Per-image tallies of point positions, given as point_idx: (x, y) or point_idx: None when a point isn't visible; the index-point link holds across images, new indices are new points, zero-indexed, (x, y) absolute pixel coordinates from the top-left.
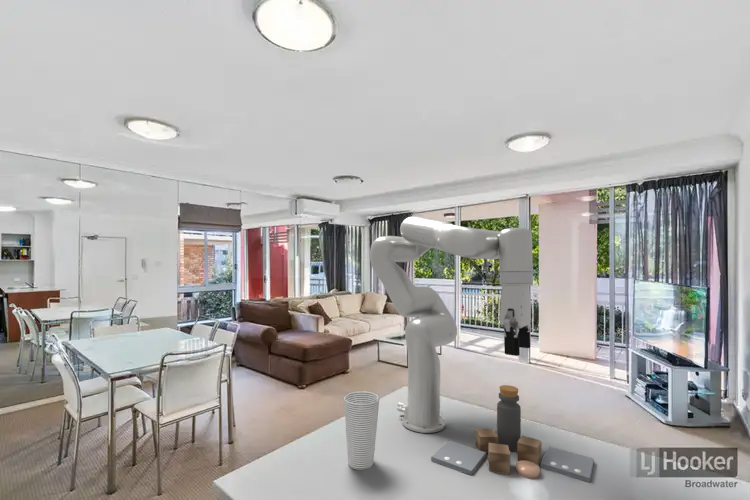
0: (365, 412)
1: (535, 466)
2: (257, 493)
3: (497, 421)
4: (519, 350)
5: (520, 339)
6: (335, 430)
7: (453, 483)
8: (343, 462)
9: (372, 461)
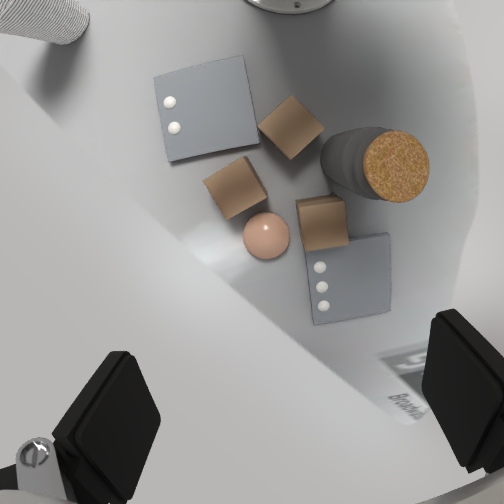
0: None
1: (277, 248)
2: None
3: (341, 136)
4: (150, 441)
5: (455, 377)
6: None
7: (126, 155)
8: None
9: (71, 39)
